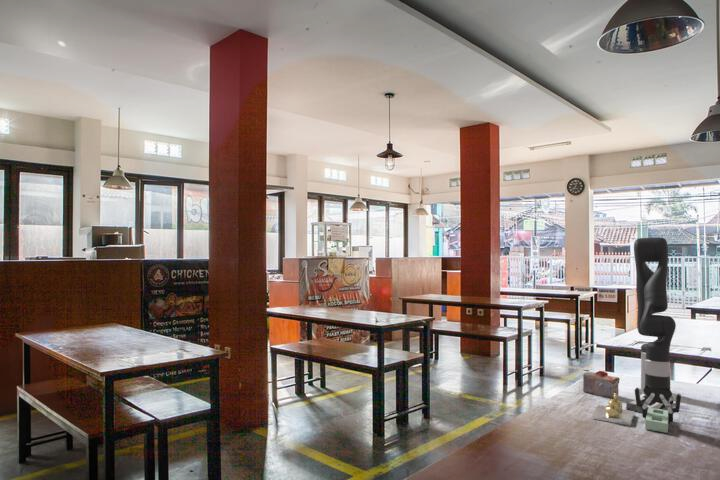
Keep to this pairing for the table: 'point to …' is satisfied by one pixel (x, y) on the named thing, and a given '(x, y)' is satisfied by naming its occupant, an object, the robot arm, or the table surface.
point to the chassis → (614, 413)
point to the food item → (600, 384)
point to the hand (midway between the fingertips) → (657, 421)
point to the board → (657, 420)
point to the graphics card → (634, 407)
